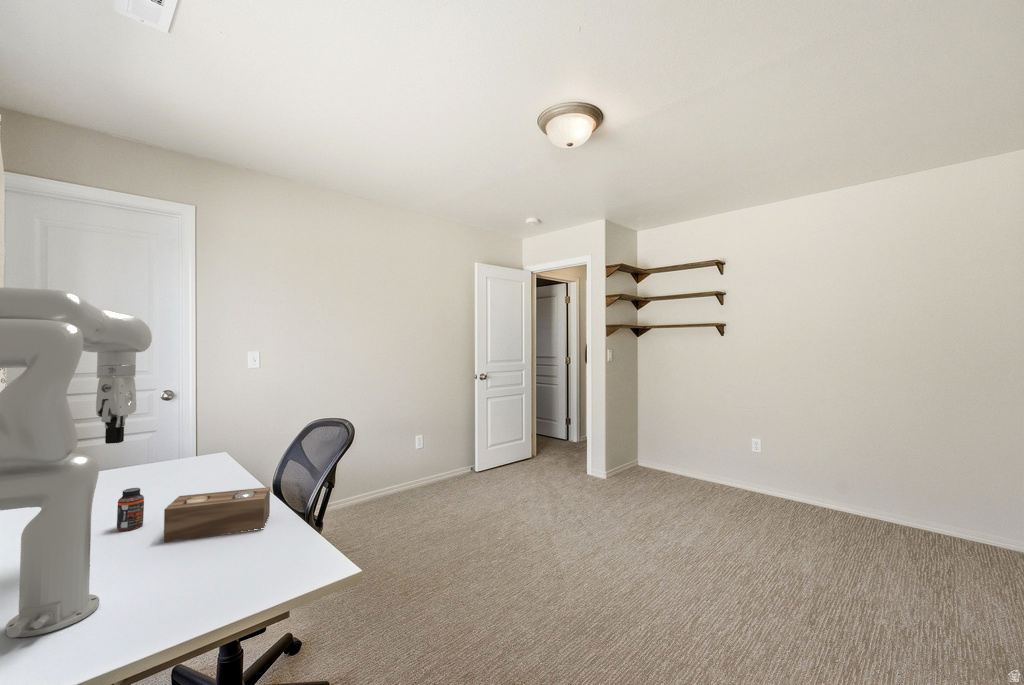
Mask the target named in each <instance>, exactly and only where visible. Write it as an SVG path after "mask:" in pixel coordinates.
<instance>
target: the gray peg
mask: <svg viewBox="0 0 1024 685" xmlns="http://www.w3.org/2000/svg"><path fill="white" fill-rule="evenodd" d="M245 497H254V492H241V493H238V494H236V495H235V498H245Z"/></svg>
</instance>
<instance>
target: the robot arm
mask: <svg viewBox="0 0 1024 685" xmlns="http://www.w3.org/2000/svg"><path fill="white" fill-rule="evenodd" d="M152 335H153V334H152V331H151V329H150V327H149V325H148V324H146V323H145V322H144V321H143V320H142V319H140V318H138V317H136V316H132V315H128V314H124V313H120V312H115V311H111V310H108V309H103V308H97V307H95V306H94V305H92V304H90V303H89V302H88V301H87V300H85V299H83V298H81V297H80V296H78V295H76V294H74V293H73V292H69V291H66V290H59V289H45V288H25V287H24V288H23V287H21V288H20V287H0V369H8V368H9V369H15V368H17V369H19V368H20V369H21V368H25V370H24V371H23V372H22V373H21V374H19V376H17V377H16V378H14V379H12V380H11V382H9V383H8V384H6V385H5V387H3V389H2V390H1V391H0V511H9V510H17V509H25V508H40V511H39V512H38V513H37V515H35V516H34V517H33V518H32V519H30V521H29V522H28V523H26V526H25V527H24V529H23V530H22V533H21V535H20V536H21V537H20V560H19V563H20V564H19V565H20V566H19V588H18V590H19V593H18V594H19V595H18V614H17V615H14V617H12V619H10V620H9V621H8V622H7V623H6V624H5V625H6V626H5V634H6V635H7V637H8V638H13V639H14V638H27V637H34V636H39V635H43V634H48V633H51V632H54V631H58V630H61V629H63V628H66V627H68V626H72V625H73V624H76V623H78V622H80V621H81V620H83V619H85V618H87V617H89V616H90V615H91V614H92V613H94V612H95V611H96V610H97V609H98V607H99V605H100V597H99V596H97V595H95V594H91V593H90V575H91V573H90V571H91V570H90V567H91V540H92V538H91V537H92V513H93V512H92V510H93V502H94V496H95V492H96V486H97V483H98V479H99V472H100V467H99V466H100V465H99V463H98V461H97V460H96V459H95V458H94V457H93V456H90V455H87V454H83V453H74V452H75V451H76V449H77V446H78V442H79V441H78V433H77V429H76V428H77V427H76V426H75V425H76V424H75V421H74V418H73V415H72V411H71V408H70V405H69V402H68V398H67V396H68V395H67V393H68V388H69V386H70V384H71V382H72V379H73V377H74V375H75V373H76V370H77V368H78V366H79V363H80V360H81V357H82V354H83V352H87V353H97V354H96V356H97V358H96V359H97V360H96V379H98V383H97V389H96V401H95V413H96V415H97V417H99V418H101V420H100V422H101V423H103V424H104V428H105V433H104V434H105V436H104V439H105V442H104V443H105V444H108V445H109V444H111V445H112V444H121V443H123V442H124V441H125V440H124V438H125V425H126V419H127V418H128V416H129V415H131V414H134V413H135V412H136V411H137V389H136V381H135V378H136V362H137V360H136V359H137V353H142V352H145V351H147V350H148V349H149V348H150V346H151V343H152V339H153V336H152Z"/></svg>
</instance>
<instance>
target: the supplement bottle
mask: <svg viewBox="0 0 1024 685" xmlns="http://www.w3.org/2000/svg"><path fill="white" fill-rule="evenodd" d="M144 508H145V496H144V495H143V494H141V488H140V487H131V488H126V489H123V490H122V496H121V497H120V498H119V499H118V501H117V508H116V509H117V510H116V512H117V515H116V530H117V531H120V532H128V531H133V530H136V529H139V528H141V527H142V526H143V525H144V514H145V513H144V512H145V510H144Z"/></svg>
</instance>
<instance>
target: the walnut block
mask: <svg viewBox="0 0 1024 685" xmlns="http://www.w3.org/2000/svg"><path fill="white" fill-rule="evenodd" d="M241 492H254V497H245V498H235V495H236V494H238V493H241ZM199 496H206V497H208V500H207V501H206V502H197V503H188V504H186V501H187V500H188V499H190V498H193V497H199ZM270 498H271V487H270V486H268V487H258V488H257V487H255V488H247V489H238V490H226V491H218V492H217V491H216V492H215V491H214V492H208V493H207V492H204V493H195V494H187V495H179V496H177V497H176V498H175V499H174V500H173V501H172V502H171V503H170V504H168V505H167V506H166V507H164V509H163V510H164V513H163V515H164V516H163V543H169V542H177V541H184V540H190V539H191V540H192V539H193V540H194V539H199V538H205V537H215V536H216V537H217V536H223V535H222V534H224V535H229V534H228V533H232V534H237V533H236V532H240V533H242V532H241V531H247V532H249V531H248V530H254V529H261V528H264V529H265V527H266V525H265V523H266V524H267V522H268V520H267V519H269V518H270V515H269V514H270V509H271V508H270V507H271V499H270ZM268 517H269V518H268ZM266 521H267V522H266ZM264 526H265V527H264Z"/></svg>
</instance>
